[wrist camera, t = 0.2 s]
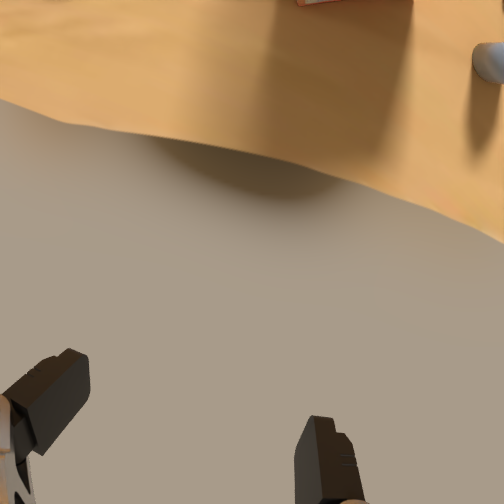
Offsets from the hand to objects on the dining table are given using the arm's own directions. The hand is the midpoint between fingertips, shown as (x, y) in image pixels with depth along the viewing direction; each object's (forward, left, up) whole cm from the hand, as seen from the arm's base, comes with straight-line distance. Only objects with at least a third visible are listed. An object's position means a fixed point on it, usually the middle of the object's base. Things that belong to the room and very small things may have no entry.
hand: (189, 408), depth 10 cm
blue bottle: (0, +32, -31) cm, 44 cm away
